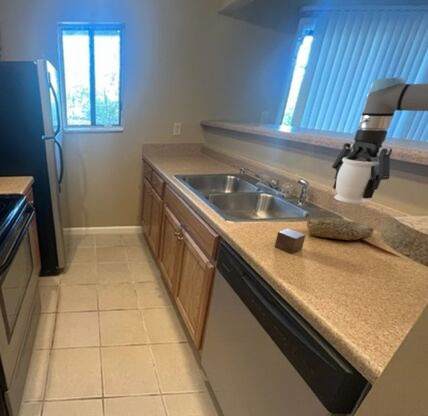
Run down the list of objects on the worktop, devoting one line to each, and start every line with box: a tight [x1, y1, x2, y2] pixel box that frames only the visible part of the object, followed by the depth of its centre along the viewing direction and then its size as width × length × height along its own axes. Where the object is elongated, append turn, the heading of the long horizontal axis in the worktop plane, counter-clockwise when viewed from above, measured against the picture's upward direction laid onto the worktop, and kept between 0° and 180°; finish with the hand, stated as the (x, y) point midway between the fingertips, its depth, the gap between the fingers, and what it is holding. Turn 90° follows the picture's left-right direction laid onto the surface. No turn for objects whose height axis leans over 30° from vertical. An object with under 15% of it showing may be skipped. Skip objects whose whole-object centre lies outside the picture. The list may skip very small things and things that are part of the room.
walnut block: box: [274, 228, 307, 255], centre depth 96 cm, size 6×6×6 cm
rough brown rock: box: [306, 218, 374, 241], centre depth 104 cm, size 13×8×20 cm
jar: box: [334, 156, 379, 205], centre depth 97 cm, size 11×10×15 cm
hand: (351, 192), depth 99 cm, fingers closed on jar, 10 cm apart
